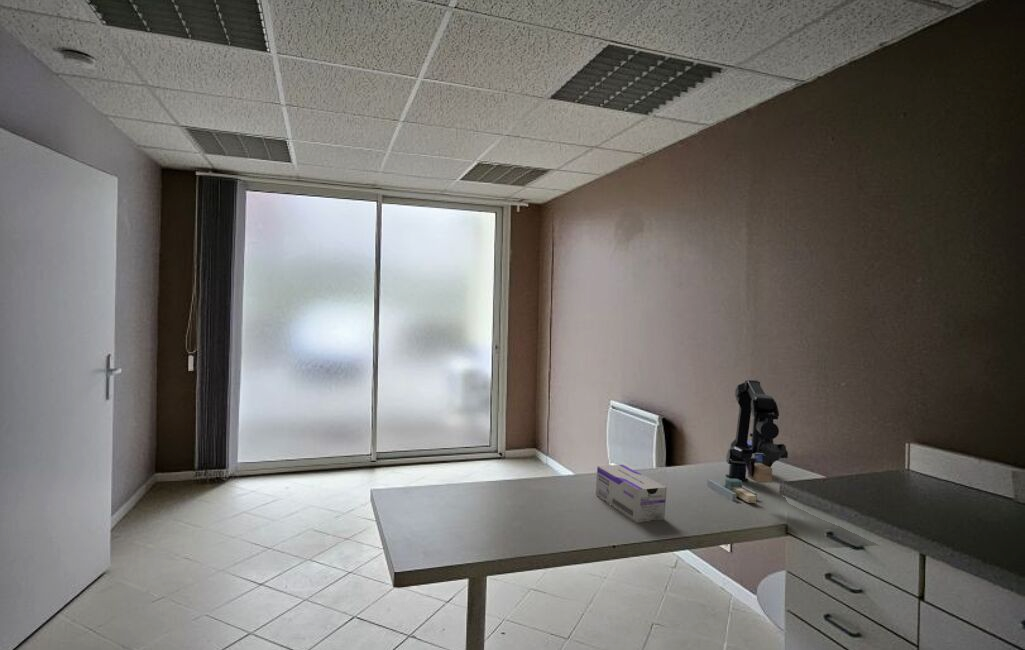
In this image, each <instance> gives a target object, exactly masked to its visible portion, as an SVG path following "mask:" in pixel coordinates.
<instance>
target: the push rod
mask: <svg viewBox="0 0 1025 650" xmlns="http://www.w3.org/2000/svg"><path fill="white" fill-rule="evenodd" d="M724 480H725V482H724V486H725V488H727V489H729V490H731V491H732V492H734V493H736V494H737V496H736V498H737V497H738V498H739V499H741V500H743V501H744V502H746V503H748V504H752V503H755V504H756V503H757V500H756V495H754V494H752V493H750V492H748V491H746V490H744V489H742V486H743V481H741V480H739V479H731V478H725V479H724Z"/></svg>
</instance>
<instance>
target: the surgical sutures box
mask: <svg viewBox="0 0 1025 650" xmlns="http://www.w3.org/2000/svg"><path fill="white" fill-rule="evenodd" d="M596 467H597V468H596V469H597V470H596V481H595V482H596V483H595V496H596V495H597V496H596V497H598V496H599V497H600V498H599V497H598V498H599V499H601V500H602V499H603V500H602V501H604V500H605V501H606V502H608V503H609V504H611V505H612V506H614V507H615V508H616V509H615V508H614V507H613V508H614V509H615V510H617V509H618V510H619V512H620V511H621V512H622V514H623V513H624V514H625V516H626V517H627V516H628V517H627V518H629V519H630V518H631V519H630V520H632V521H633V520H634V522H635V523H636V522H638V523H643V522H642V521H647V522H652V521H651V520H655V521H663V520H662V519H664V520H665V517H666V515H665V514H666V499H667V486H664V485H663V484H661V483H659V482H657V481H655V480H653V479H652V478H649V477H647V476H645V475H643V474H642V473H641V472H638V471H636V470H634V469H633V468H630V467H628V466H626V465H624V464H613V465H612V464H609V465H597V466H596ZM605 501H604V502H605ZM608 503H607V504H608ZM609 504H608V505H609ZM611 505H610V506H611ZM612 506H611V507H612ZM618 510H617V511H618ZM621 512H620V513H621ZM624 514H623V515H624Z"/></svg>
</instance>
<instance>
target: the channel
mask: <svg viewBox="0 0 1025 650" xmlns="http://www.w3.org/2000/svg"><path fill="white" fill-rule="evenodd" d="M706 483H707V485H706V486H707V487H708V488H710V489H712V490H713V491H715V492H717V493H719V494H721V495H722V496H724V497H725V498H727V499H729V500H730V501H733V502H736V501H737V494H736V493H734V492H732V491H731V490H729V489H727V488H725V485H721V484H720V483H718V482H716V481H714V480H712V479H707V481H706ZM742 489H744V490H746V491H748V492H750V493H752V494H754V495H756V501H757V500H758V499H757V498H758V493H757V492H755V491H754V490H752V489H749V488H747V487H746V486H744V485H742Z"/></svg>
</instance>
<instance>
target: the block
mask: <svg viewBox="0 0 1025 650" xmlns="http://www.w3.org/2000/svg"><path fill="white" fill-rule="evenodd" d="M747 479H750V480H753V481H755V482H756V483H759V484H761V483H762V484H766V483H767V484H768V483H769V484H771V483H772V480H773V467H771V468H770V467H768V466H766V465H764V464H762V463H755V465H754V475H753V477H751V476H750V474H749V471H747Z"/></svg>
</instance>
